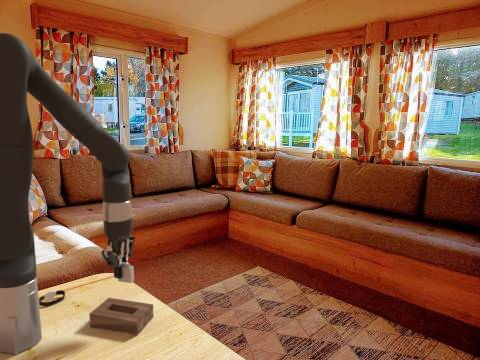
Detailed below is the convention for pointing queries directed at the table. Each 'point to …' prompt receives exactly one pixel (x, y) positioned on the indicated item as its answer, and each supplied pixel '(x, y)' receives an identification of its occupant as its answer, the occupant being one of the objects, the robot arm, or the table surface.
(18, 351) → the robot arm
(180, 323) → the table surface
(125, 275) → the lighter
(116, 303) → the slot stand
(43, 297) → the watch
